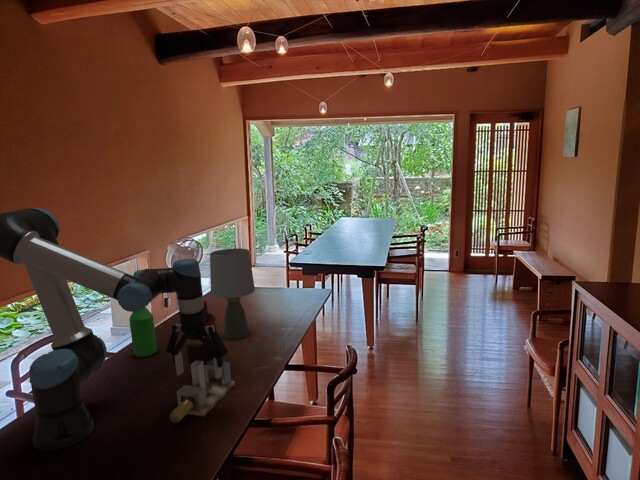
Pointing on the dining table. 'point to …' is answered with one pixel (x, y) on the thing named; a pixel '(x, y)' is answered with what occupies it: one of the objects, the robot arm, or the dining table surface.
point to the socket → (211, 372)
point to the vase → (201, 343)
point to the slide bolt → (189, 402)
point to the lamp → (232, 287)
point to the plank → (213, 396)
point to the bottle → (143, 333)
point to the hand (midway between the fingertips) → (199, 375)
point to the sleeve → (193, 392)
